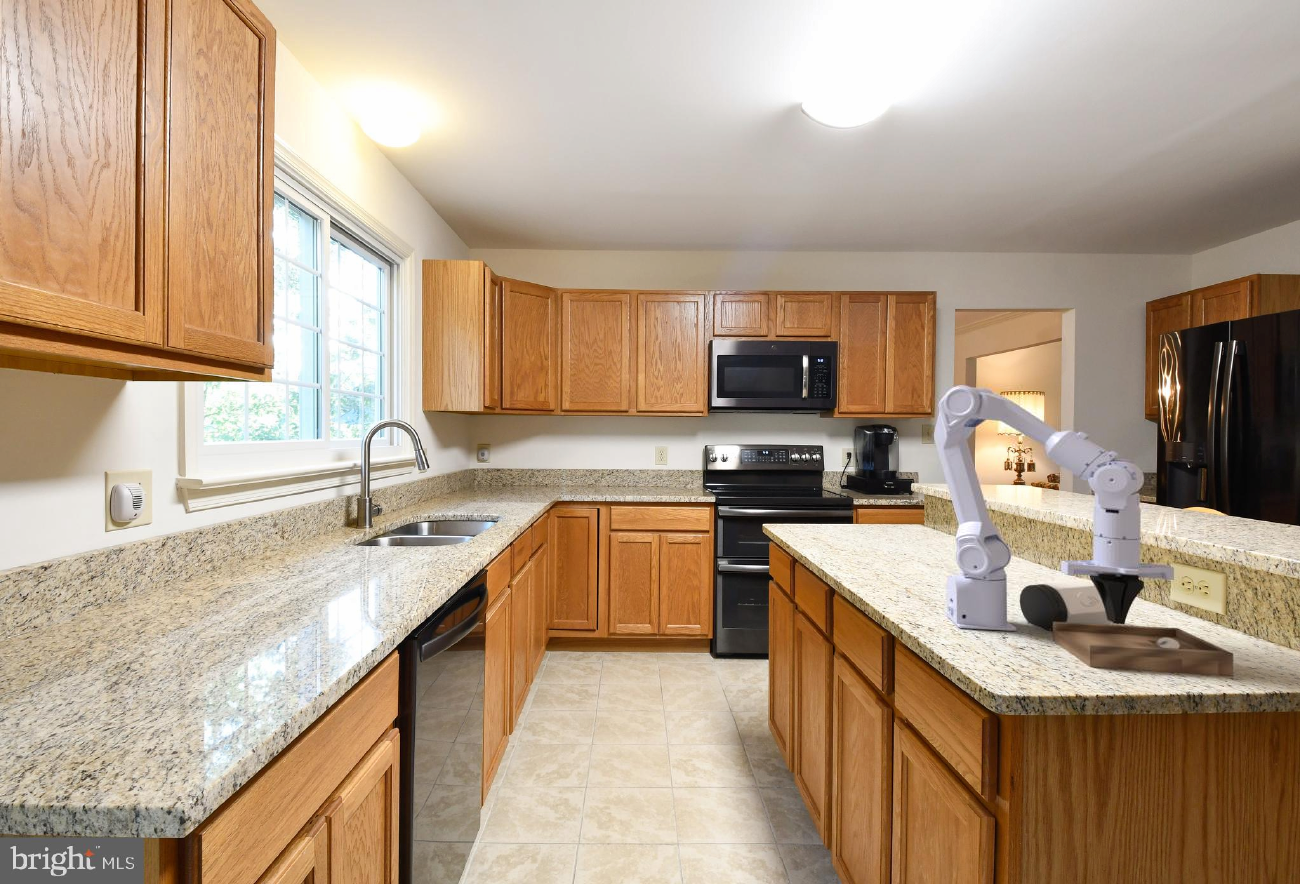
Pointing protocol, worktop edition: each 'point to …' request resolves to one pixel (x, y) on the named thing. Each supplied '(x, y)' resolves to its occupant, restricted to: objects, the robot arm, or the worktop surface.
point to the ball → (1168, 643)
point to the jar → (1062, 603)
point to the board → (1141, 648)
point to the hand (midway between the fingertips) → (1115, 621)
